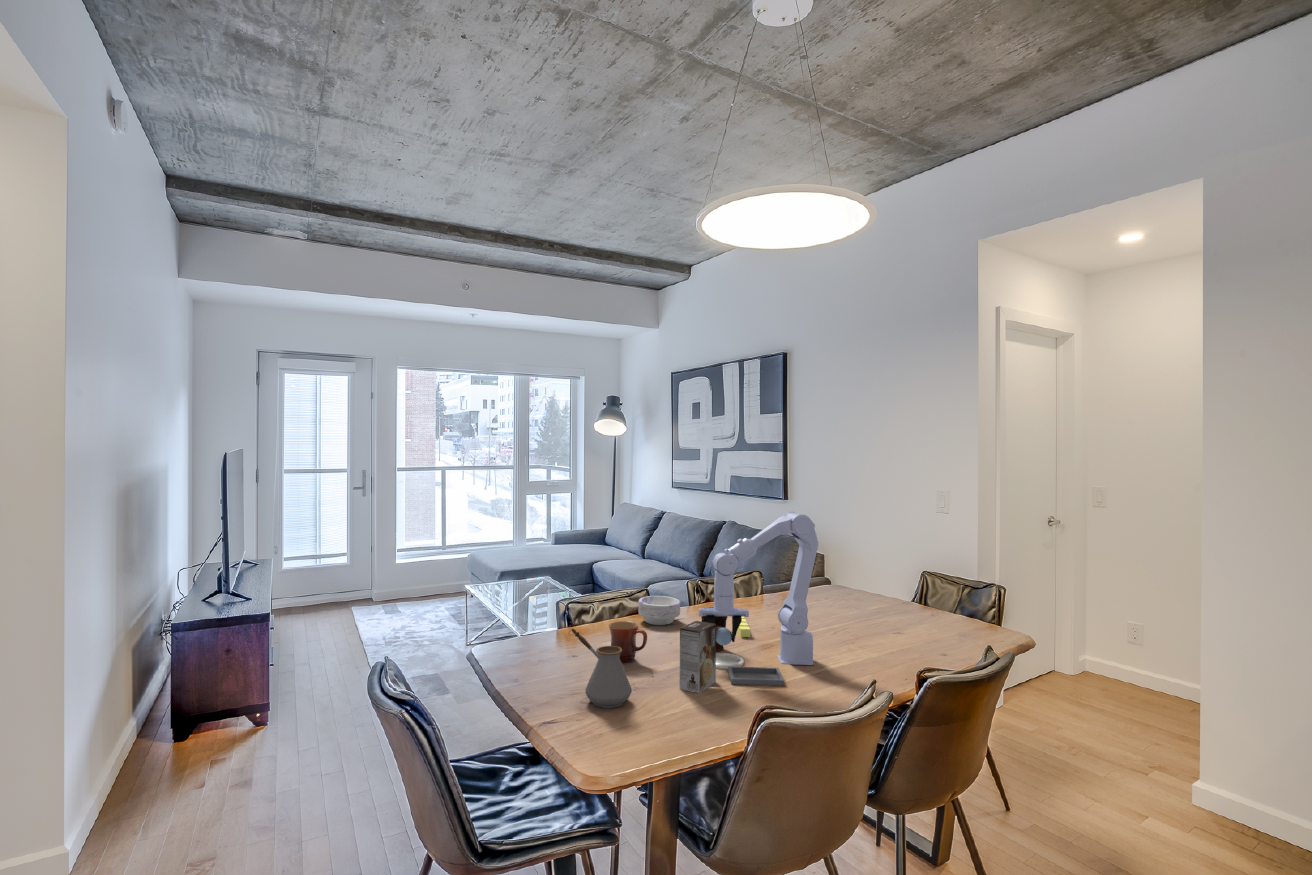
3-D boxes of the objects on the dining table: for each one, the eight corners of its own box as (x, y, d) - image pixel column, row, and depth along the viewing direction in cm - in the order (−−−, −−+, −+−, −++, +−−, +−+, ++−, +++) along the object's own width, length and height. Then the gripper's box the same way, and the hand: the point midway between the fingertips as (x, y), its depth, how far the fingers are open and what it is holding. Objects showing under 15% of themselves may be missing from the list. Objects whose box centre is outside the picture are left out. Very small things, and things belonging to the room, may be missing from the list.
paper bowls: (681, 627, 228) (681, 605, 229) (637, 627, 228) (638, 604, 228) (678, 616, 244) (679, 595, 244) (638, 616, 243) (638, 594, 243)
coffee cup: (725, 655, 198) (726, 613, 198) (698, 653, 200) (699, 611, 200) (728, 647, 207) (729, 606, 207) (702, 645, 208) (703, 604, 209)
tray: (778, 674, 183) (778, 667, 183) (784, 687, 173) (784, 680, 173) (728, 672, 183) (728, 666, 183) (731, 685, 173) (731, 678, 173)
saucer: (741, 657, 197) (741, 653, 197) (745, 670, 185) (745, 666, 185) (701, 656, 197) (701, 652, 197) (703, 669, 185) (703, 665, 185)
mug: (602, 661, 191) (603, 626, 191) (616, 653, 199) (617, 619, 199) (639, 668, 186) (640, 632, 186) (652, 659, 194) (653, 624, 194)
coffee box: (695, 678, 178) (696, 619, 178) (716, 683, 175) (717, 623, 175) (678, 688, 170) (679, 627, 171) (700, 694, 167) (701, 631, 167)
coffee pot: (641, 702, 161) (642, 641, 161) (605, 715, 153) (606, 651, 153) (587, 679, 176) (588, 623, 176) (552, 690, 168) (553, 631, 168)
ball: (731, 642, 194) (731, 625, 194) (732, 647, 189) (733, 630, 189) (714, 642, 194) (714, 625, 194) (715, 647, 189) (715, 629, 189)
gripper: (747, 591, 195) (746, 637, 195) (698, 591, 196) (698, 636, 196) (749, 597, 188) (749, 644, 188) (699, 596, 189) (699, 643, 189)
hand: (723, 640), depth 191 cm, fingers closed on ball, 5 cm apart
